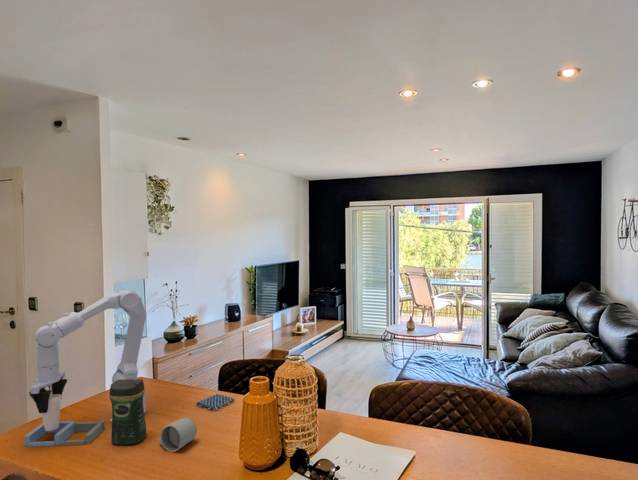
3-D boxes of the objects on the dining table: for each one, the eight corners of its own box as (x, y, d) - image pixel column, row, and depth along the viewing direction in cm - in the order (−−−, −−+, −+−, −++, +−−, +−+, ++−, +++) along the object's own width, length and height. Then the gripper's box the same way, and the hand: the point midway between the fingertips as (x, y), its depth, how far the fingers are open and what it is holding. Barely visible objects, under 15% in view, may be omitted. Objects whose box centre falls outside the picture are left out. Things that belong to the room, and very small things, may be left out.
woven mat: (194, 407, 155) (194, 402, 155) (216, 397, 164) (216, 392, 164) (214, 414, 149) (213, 408, 149) (235, 403, 158) (235, 398, 158)
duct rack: (104, 428, 139) (104, 419, 138) (88, 444, 128) (88, 434, 128) (44, 431, 138) (43, 422, 138) (23, 447, 128) (23, 437, 128)
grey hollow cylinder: (199, 440, 129) (198, 415, 129) (181, 454, 121) (180, 427, 121) (171, 436, 133) (170, 411, 133) (152, 448, 125) (151, 423, 125)
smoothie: (52, 433, 129) (49, 387, 129) (34, 432, 130) (31, 387, 130) (68, 424, 135) (65, 380, 135) (51, 423, 136) (48, 380, 137)
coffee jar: (150, 433, 134) (148, 375, 134) (138, 446, 127) (136, 384, 126) (120, 433, 135) (118, 375, 135) (106, 446, 127) (104, 384, 127)
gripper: (49, 358, 140) (50, 399, 140) (19, 373, 125) (21, 418, 126) (71, 357, 140) (72, 398, 140) (43, 372, 125) (45, 417, 126)
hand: (49, 407), depth 133 cm, fingers closed on smoothie, 6 cm apart
